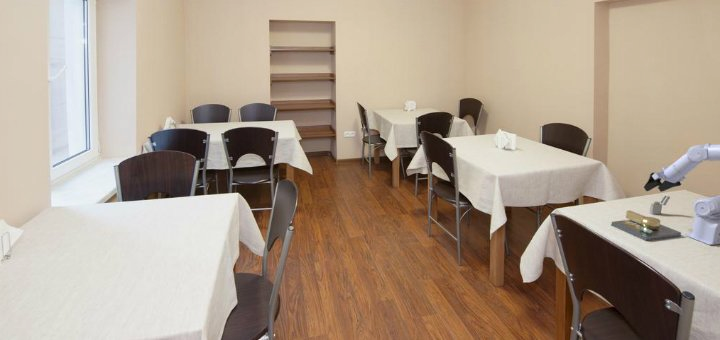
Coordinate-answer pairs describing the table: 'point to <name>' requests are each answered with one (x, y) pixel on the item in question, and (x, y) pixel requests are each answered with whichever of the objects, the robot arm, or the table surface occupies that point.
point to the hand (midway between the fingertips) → (652, 189)
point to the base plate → (643, 235)
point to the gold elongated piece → (644, 220)
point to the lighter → (658, 205)
